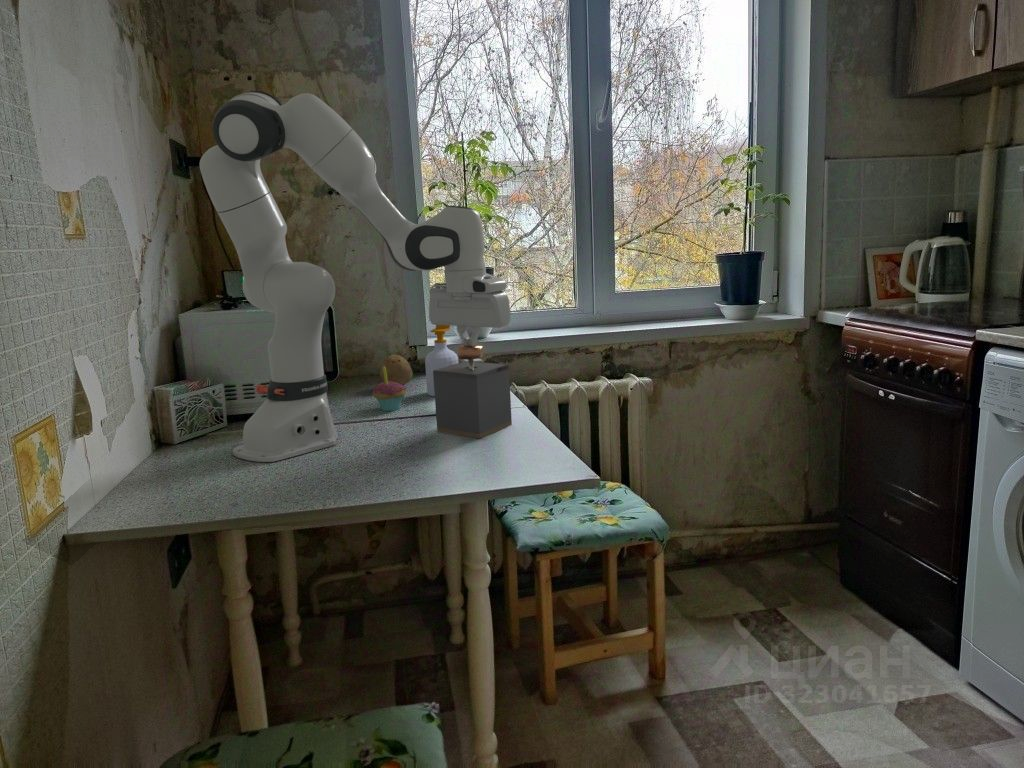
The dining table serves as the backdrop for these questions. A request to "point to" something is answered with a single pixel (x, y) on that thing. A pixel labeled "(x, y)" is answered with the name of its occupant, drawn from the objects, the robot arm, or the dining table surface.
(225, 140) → the robot arm
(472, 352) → the plunger
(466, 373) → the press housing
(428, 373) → the soap bottle
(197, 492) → the dining table surface
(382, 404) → the cupcake
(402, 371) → the natural sponge
